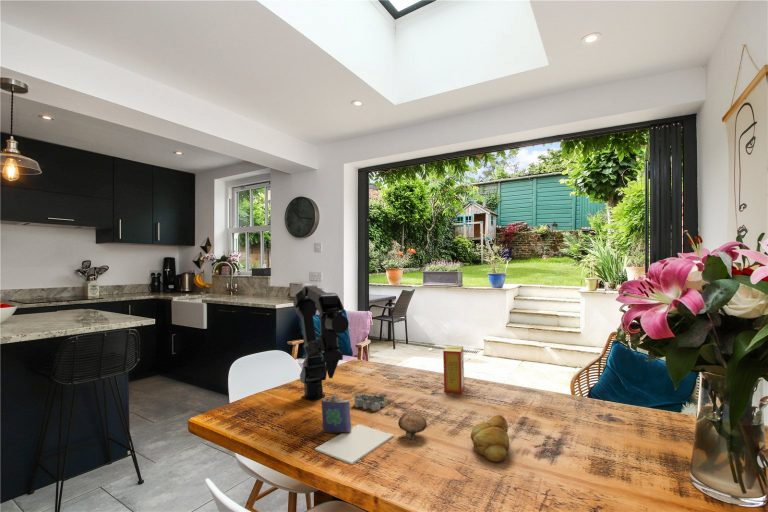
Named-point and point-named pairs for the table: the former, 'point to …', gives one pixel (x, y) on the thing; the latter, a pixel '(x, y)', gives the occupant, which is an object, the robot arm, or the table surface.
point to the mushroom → (412, 424)
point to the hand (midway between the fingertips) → (330, 378)
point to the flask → (336, 415)
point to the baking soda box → (453, 369)
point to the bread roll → (491, 438)
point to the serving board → (354, 443)
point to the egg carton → (370, 401)
